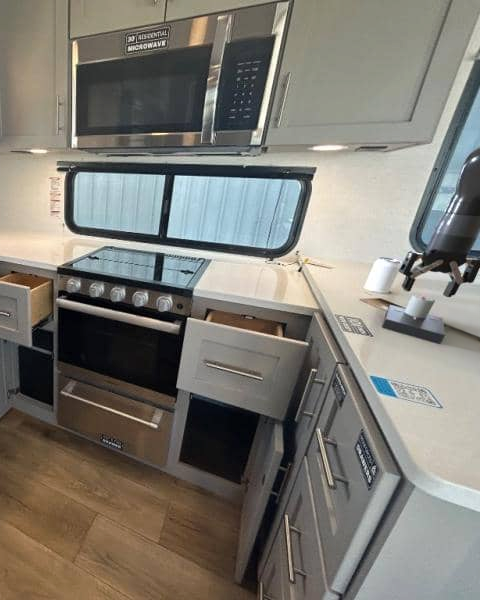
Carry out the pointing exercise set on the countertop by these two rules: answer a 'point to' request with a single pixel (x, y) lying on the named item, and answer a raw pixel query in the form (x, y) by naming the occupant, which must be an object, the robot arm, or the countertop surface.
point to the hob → (414, 324)
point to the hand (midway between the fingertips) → (426, 293)
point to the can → (383, 275)
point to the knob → (419, 306)
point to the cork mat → (379, 303)
